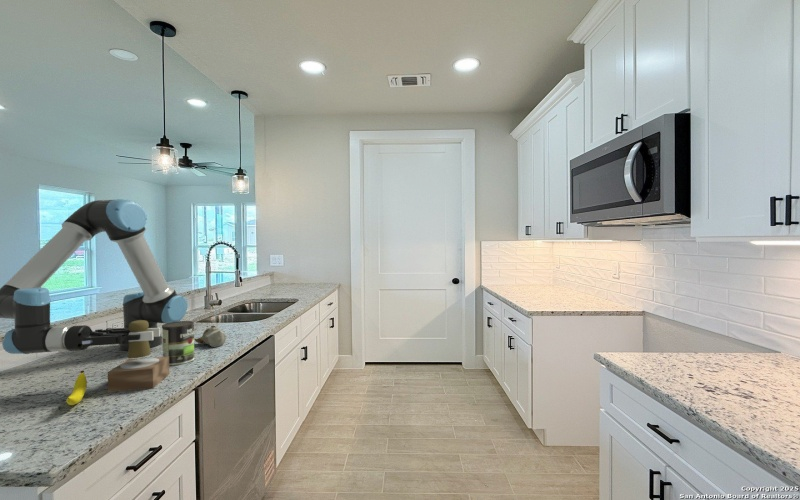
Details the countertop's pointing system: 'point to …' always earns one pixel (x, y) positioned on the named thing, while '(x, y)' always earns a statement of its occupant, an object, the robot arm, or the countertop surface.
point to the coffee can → (178, 342)
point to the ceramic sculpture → (212, 337)
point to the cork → (138, 347)
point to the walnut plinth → (138, 374)
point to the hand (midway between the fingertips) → (156, 333)
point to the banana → (78, 390)
